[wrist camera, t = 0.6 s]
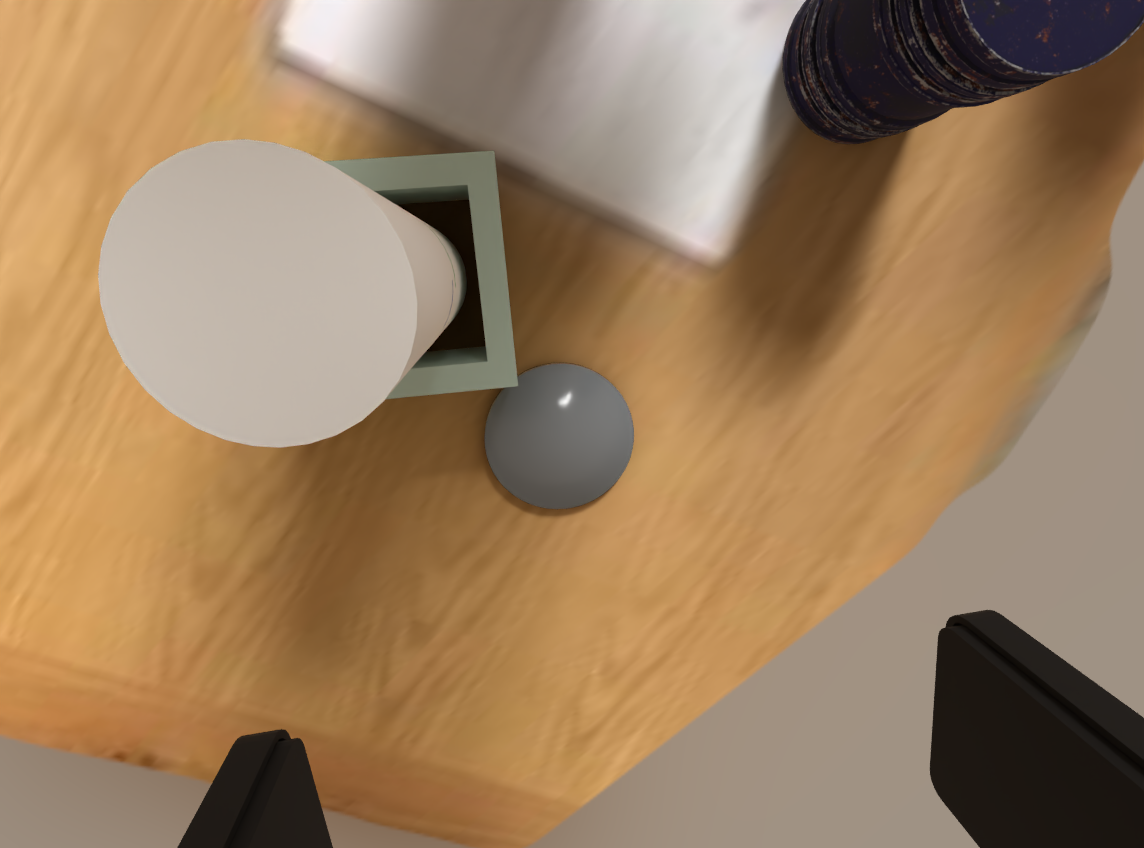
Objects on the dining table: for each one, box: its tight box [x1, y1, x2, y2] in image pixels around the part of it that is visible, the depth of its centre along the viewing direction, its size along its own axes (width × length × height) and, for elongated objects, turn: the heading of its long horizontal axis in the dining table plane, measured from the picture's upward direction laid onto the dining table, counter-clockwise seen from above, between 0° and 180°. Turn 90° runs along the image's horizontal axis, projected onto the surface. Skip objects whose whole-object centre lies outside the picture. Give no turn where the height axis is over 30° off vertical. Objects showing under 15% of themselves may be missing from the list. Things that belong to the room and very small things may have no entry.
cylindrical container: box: [98, 139, 467, 447], centre depth 27 cm, size 7×7×25 cm
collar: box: [324, 151, 518, 399], centre depth 35 cm, size 12×12×7 cm
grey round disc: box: [485, 363, 634, 509], centre depth 42 cm, size 10×10×1 cm
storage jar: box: [783, 0, 1144, 144], centre depth 32 cm, size 10×10×15 cm
